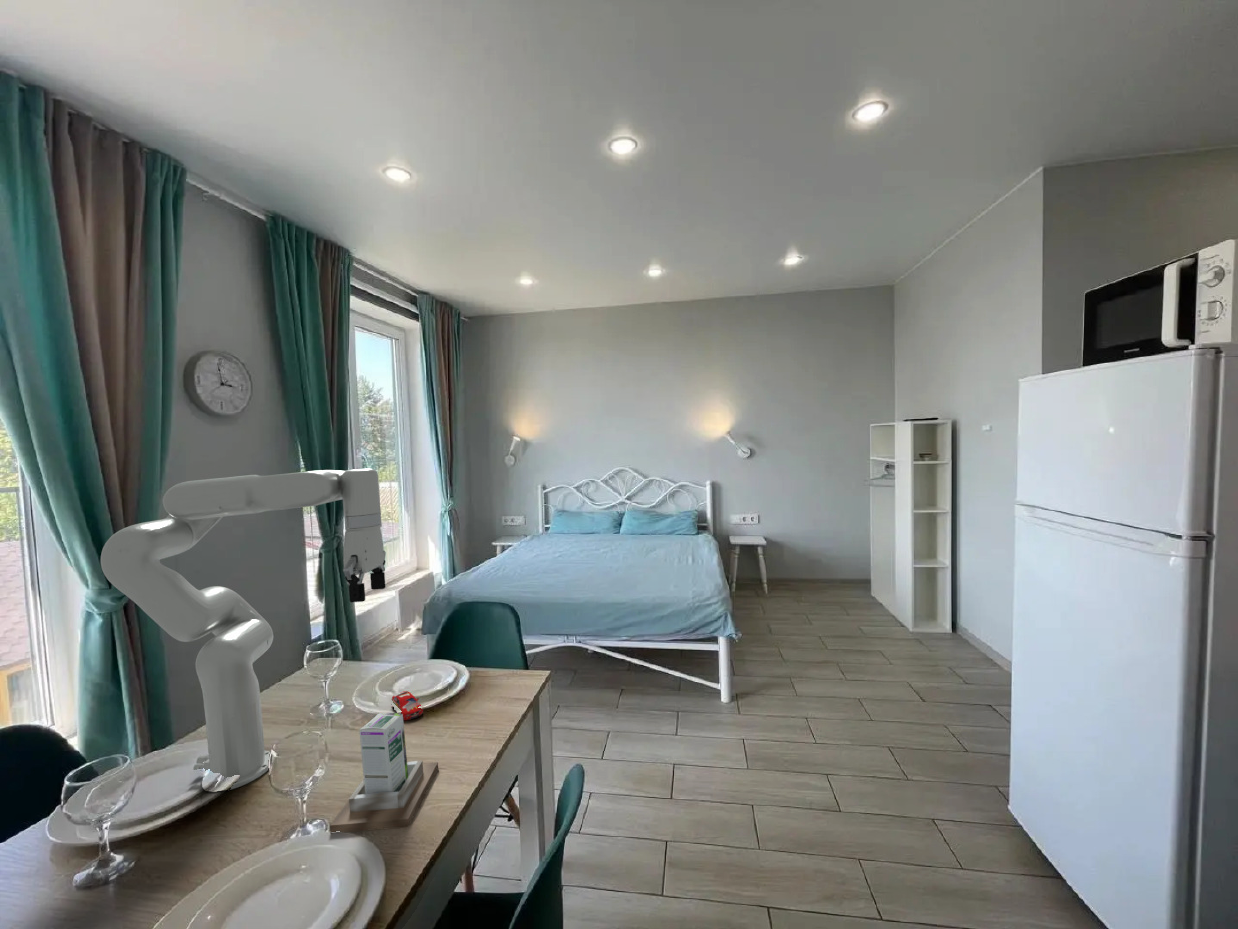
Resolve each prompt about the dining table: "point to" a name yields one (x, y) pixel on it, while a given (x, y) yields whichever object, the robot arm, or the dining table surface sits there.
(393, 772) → the syrup box
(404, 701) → the race car
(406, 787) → the socket board
